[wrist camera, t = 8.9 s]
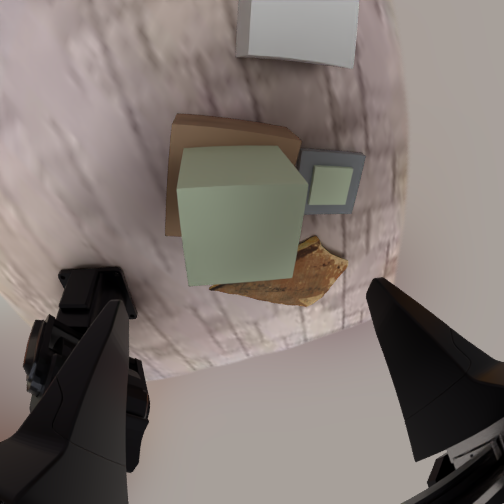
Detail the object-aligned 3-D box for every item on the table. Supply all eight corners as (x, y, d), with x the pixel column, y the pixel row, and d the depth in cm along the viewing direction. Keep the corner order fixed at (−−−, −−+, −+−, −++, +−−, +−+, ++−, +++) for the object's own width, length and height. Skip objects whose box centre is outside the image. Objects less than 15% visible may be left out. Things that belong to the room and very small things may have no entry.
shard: (207, 278, 25) (208, 292, 23) (242, 206, 21) (246, 219, 19) (306, 298, 29) (311, 311, 27) (348, 243, 25) (357, 256, 24)
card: (348, 209, 22) (353, 215, 21) (290, 210, 21) (294, 217, 20) (361, 152, 19) (367, 157, 18) (299, 148, 18) (303, 152, 17)
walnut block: (262, 214, 21) (273, 242, 19) (169, 207, 19) (165, 235, 17) (285, 126, 17) (301, 141, 14) (177, 112, 15) (171, 124, 13)
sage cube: (277, 145, 14) (308, 184, 10) (270, 222, 17) (292, 277, 14) (183, 148, 14) (176, 188, 10) (189, 227, 17) (188, 286, 13)
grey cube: (314, 64, 14) (353, 69, 10) (235, 57, 13) (248, 54, 10) (320, -3, 11) (359, -17, 7) (239, -14, 10) (254, -39, 6)
